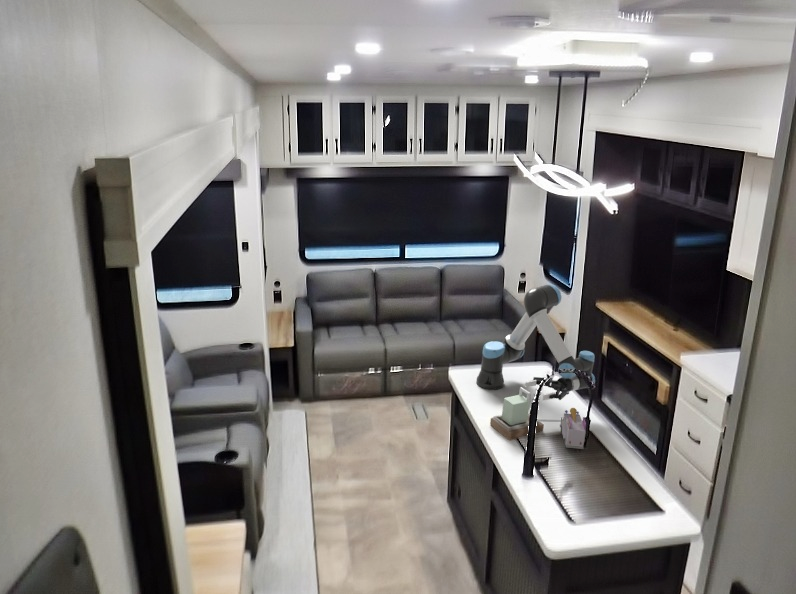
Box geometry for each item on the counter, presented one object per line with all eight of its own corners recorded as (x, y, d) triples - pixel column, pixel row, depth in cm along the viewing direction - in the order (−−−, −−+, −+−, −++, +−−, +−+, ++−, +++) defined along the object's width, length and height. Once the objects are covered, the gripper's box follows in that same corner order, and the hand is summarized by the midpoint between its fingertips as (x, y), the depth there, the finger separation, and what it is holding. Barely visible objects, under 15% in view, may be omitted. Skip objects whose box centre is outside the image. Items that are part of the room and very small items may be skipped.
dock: (522, 416, 311) (523, 407, 310) (542, 431, 299) (544, 421, 297) (489, 424, 302) (491, 414, 300) (509, 440, 289) (510, 430, 288)
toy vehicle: (576, 431, 301) (581, 403, 297) (584, 453, 283) (589, 423, 278) (557, 429, 302) (561, 401, 297) (563, 451, 283) (568, 421, 279)
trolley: (517, 416, 303) (521, 386, 298) (527, 423, 298) (531, 393, 293) (501, 420, 299) (504, 390, 294) (510, 427, 293) (514, 396, 288)
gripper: (584, 402, 301) (550, 409, 291) (550, 379, 322) (517, 386, 312) (586, 388, 299) (552, 395, 289) (552, 366, 319) (519, 372, 310)
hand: (534, 390), depth 300 cm, fingers open, 13 cm apart
